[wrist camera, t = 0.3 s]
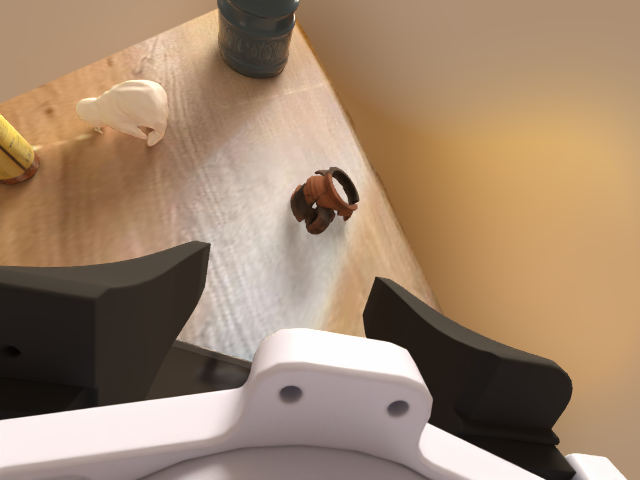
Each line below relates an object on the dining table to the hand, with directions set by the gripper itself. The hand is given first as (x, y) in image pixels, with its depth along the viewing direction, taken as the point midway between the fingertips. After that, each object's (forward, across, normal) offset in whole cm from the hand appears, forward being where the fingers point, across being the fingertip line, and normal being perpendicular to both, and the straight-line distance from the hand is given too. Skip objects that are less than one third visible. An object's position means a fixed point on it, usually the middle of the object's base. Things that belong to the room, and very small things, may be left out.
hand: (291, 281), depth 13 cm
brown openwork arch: (+36, -5, +6) cm, 37 cm away
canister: (+57, +12, -16) cm, 61 cm away
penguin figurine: (+39, +25, +1) cm, 47 cm away
